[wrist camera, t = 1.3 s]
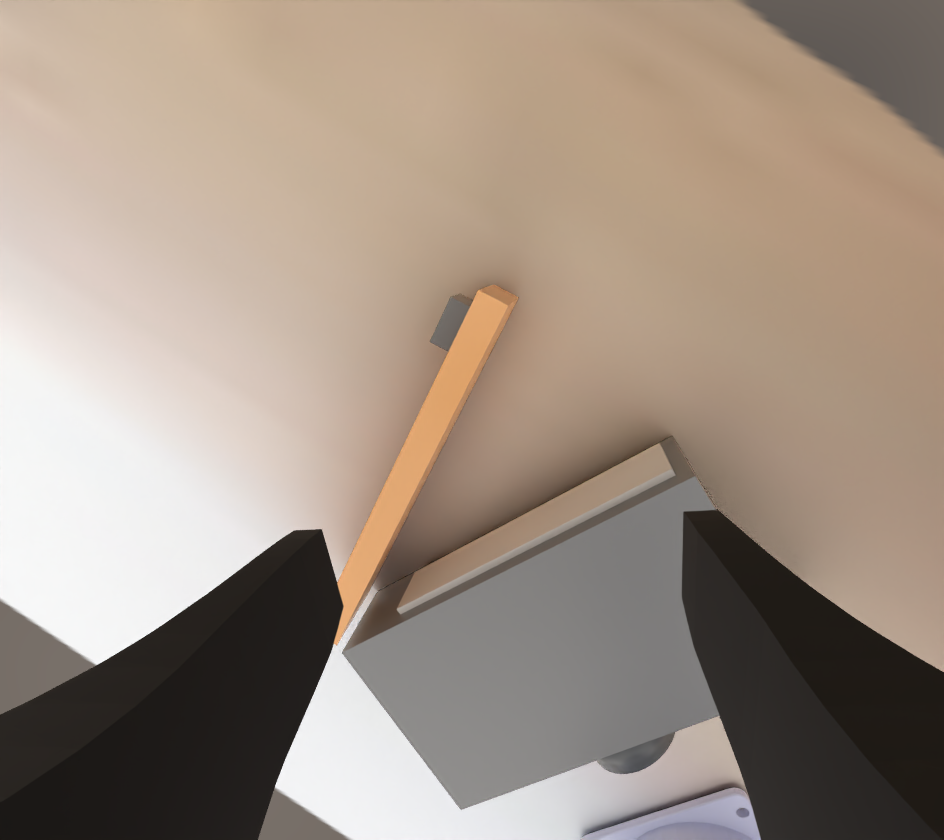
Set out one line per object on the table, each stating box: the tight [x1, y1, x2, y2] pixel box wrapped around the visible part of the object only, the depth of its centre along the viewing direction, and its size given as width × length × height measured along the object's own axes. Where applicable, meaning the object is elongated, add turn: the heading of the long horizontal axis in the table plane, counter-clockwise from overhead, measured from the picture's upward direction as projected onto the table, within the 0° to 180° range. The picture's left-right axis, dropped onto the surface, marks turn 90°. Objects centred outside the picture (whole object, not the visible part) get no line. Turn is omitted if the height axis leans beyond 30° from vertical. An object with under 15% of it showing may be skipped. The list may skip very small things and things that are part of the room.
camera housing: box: [342, 436, 719, 810], centre depth 21 cm, size 10×14×4 cm
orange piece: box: [334, 285, 519, 645], centre depth 21 cm, size 2×14×4 cm, turn 154°
